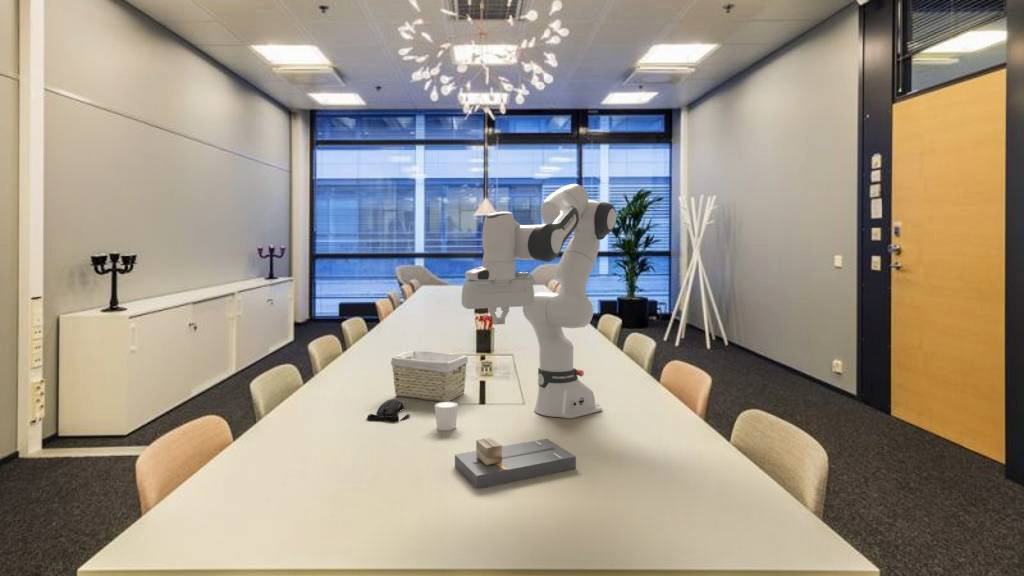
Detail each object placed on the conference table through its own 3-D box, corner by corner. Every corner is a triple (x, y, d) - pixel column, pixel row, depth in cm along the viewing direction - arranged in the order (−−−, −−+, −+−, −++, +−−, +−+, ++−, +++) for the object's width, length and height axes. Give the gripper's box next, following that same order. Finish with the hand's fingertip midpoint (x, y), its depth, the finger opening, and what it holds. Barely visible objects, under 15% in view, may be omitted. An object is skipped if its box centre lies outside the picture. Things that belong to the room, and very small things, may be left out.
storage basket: (469, 393, 204) (469, 353, 202) (448, 404, 189) (448, 362, 188) (414, 386, 213) (413, 349, 212) (389, 397, 198) (389, 356, 197)
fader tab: (491, 453, 135) (491, 436, 135) (501, 462, 130) (501, 444, 129) (476, 456, 133) (476, 439, 133) (486, 465, 128) (486, 447, 127)
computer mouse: (424, 409, 185) (423, 397, 184) (399, 425, 168) (399, 412, 168) (391, 406, 188) (390, 394, 188) (363, 421, 171) (363, 409, 171)
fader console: (547, 449, 147) (547, 437, 146) (575, 468, 134) (575, 455, 134) (454, 466, 135) (454, 453, 135) (476, 488, 123) (476, 474, 122)
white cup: (453, 431, 161) (453, 408, 160) (431, 430, 162) (431, 406, 161) (460, 424, 167) (460, 401, 167) (439, 423, 169) (439, 400, 168)
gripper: (527, 271, 154) (527, 320, 155) (459, 272, 145) (459, 324, 146) (538, 272, 149) (538, 323, 150) (468, 273, 140) (468, 328, 141)
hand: (498, 324), depth 148 cm, fingers closed
